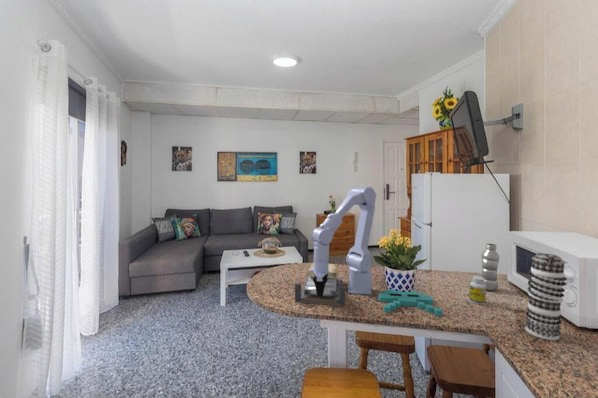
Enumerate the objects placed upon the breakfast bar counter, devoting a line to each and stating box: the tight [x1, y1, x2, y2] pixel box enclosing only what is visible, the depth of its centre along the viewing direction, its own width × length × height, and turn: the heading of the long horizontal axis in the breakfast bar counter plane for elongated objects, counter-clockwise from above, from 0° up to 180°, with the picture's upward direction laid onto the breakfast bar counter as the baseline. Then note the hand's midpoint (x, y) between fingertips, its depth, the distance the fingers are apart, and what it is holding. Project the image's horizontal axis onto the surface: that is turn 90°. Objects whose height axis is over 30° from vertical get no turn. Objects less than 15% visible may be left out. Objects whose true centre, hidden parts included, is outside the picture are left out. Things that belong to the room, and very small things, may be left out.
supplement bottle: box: [468, 275, 487, 306], centre depth 114 cm, size 5×5×10 cm
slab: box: [308, 262, 338, 278], centre depth 130 cm, size 12×12×2 cm
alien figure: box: [377, 288, 444, 317], centre depth 113 cm, size 20×2×20 cm
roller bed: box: [294, 276, 346, 306], centre depth 123 cm, size 19×28×6 cm
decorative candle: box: [524, 252, 568, 341], centre depth 91 cm, size 9×9×25 cm
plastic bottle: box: [480, 243, 500, 292], centre depth 126 cm, size 6×7×20 cm
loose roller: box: [304, 285, 336, 299], centre depth 113 cm, size 12×4×4 cm, turn 80°
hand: (320, 292), depth 114 cm, fingers closed on loose roller, 4 cm apart
